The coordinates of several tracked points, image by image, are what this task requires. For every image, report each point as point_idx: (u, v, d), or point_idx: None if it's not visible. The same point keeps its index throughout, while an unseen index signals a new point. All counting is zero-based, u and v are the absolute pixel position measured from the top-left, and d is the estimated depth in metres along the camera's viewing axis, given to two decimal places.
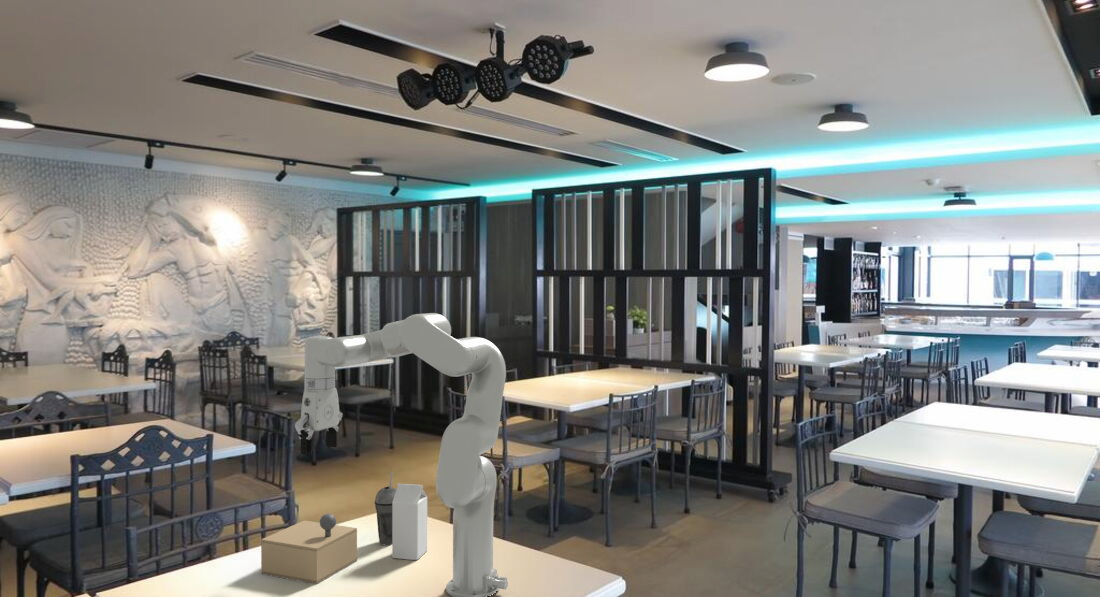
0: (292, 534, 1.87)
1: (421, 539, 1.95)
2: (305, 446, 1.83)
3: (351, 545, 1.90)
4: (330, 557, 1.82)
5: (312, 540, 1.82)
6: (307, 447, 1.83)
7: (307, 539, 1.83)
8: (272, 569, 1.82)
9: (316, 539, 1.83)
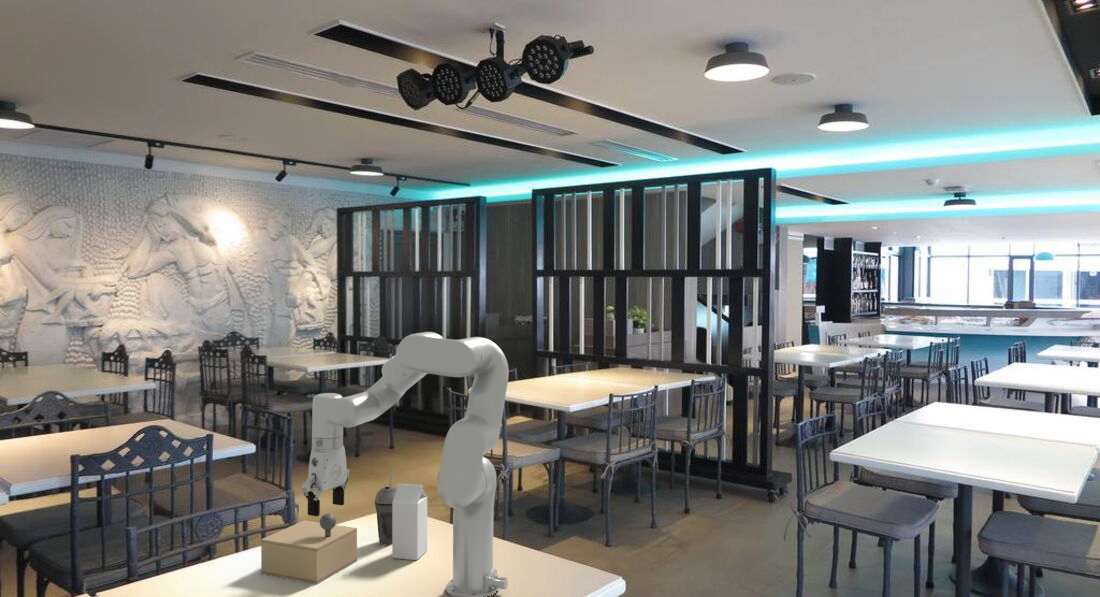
0: (292, 534, 1.87)
1: (421, 539, 1.95)
2: (312, 507, 1.80)
3: (351, 545, 1.90)
4: (330, 557, 1.82)
5: (312, 540, 1.82)
6: (314, 508, 1.80)
7: (307, 539, 1.83)
8: (272, 569, 1.82)
9: (316, 539, 1.83)
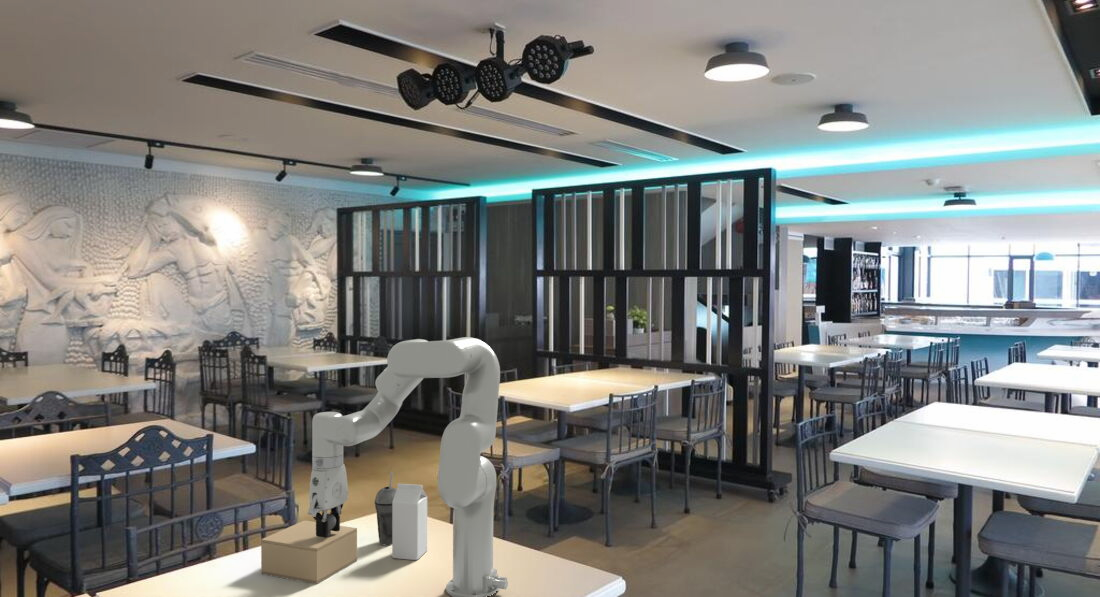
0: (292, 534, 1.87)
1: (421, 539, 1.95)
2: (320, 528, 1.82)
3: (351, 545, 1.90)
4: (330, 557, 1.82)
5: (312, 540, 1.82)
6: (322, 529, 1.82)
7: (307, 539, 1.83)
8: (272, 569, 1.82)
9: (316, 539, 1.83)
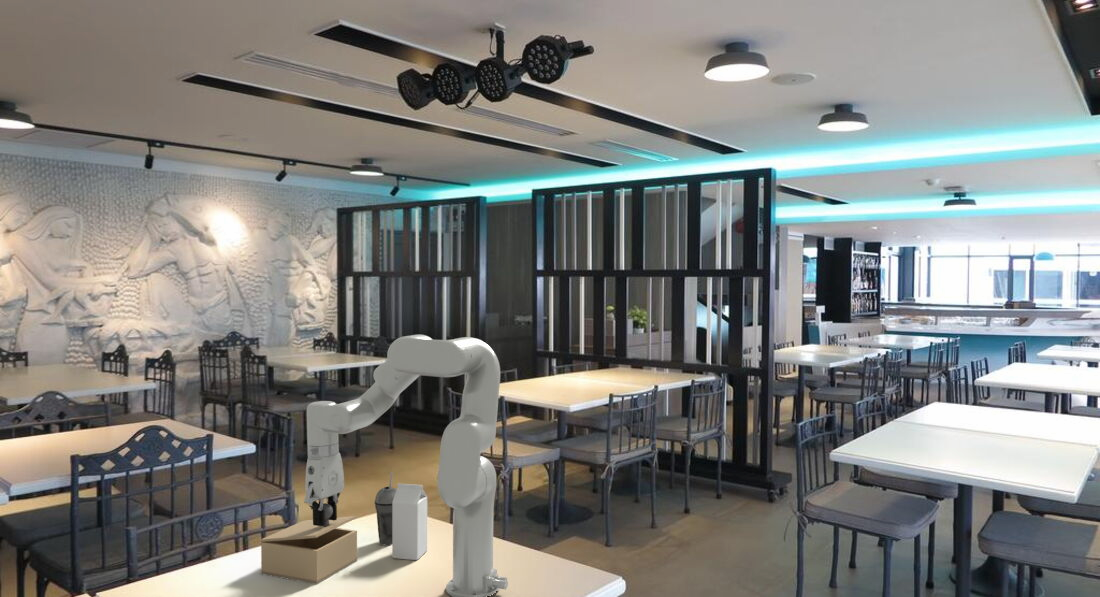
0: (291, 531, 1.87)
1: (421, 539, 1.95)
2: (317, 517, 1.83)
3: (351, 545, 1.90)
4: (330, 557, 1.82)
5: (311, 531, 1.83)
6: (319, 518, 1.83)
7: (306, 531, 1.83)
8: (272, 569, 1.82)
9: (315, 529, 1.83)
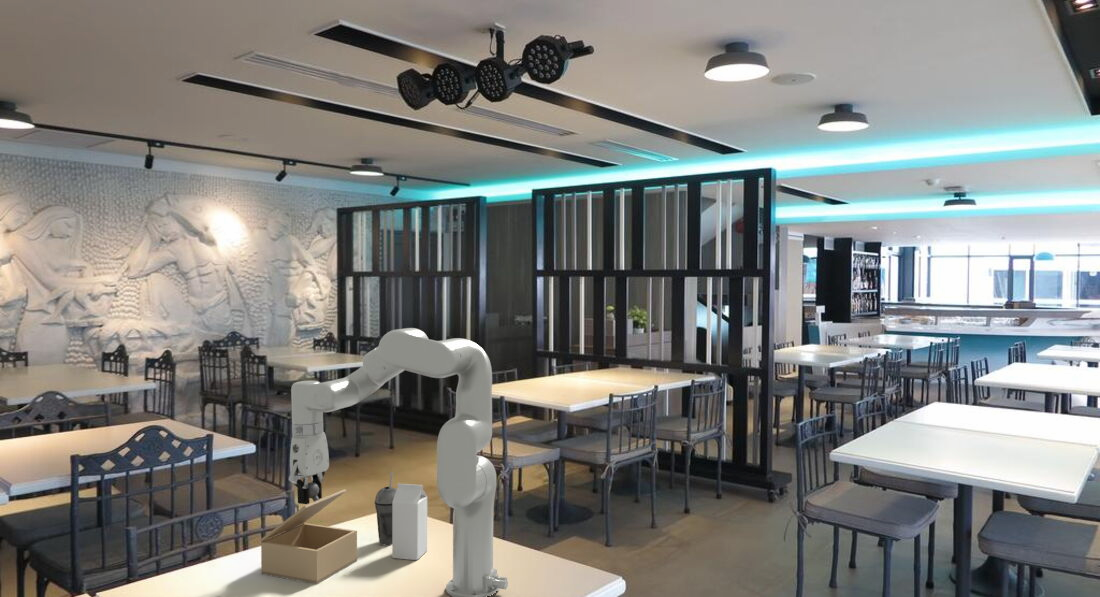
0: None
1: (421, 539, 1.95)
2: (302, 495, 1.84)
3: (351, 545, 1.90)
4: (330, 557, 1.82)
5: None
6: (304, 496, 1.84)
7: None
8: (272, 569, 1.82)
9: None
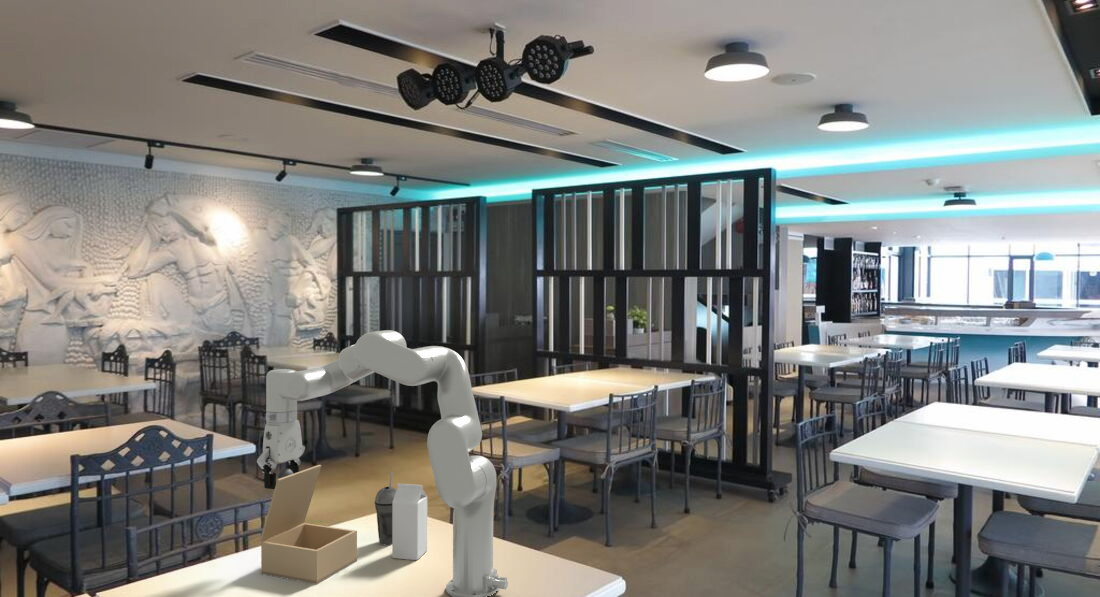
0: None
1: (421, 539, 1.95)
2: (268, 480, 1.85)
3: (351, 545, 1.90)
4: (330, 557, 1.82)
5: None
6: (270, 481, 1.86)
7: None
8: (272, 569, 1.82)
9: None
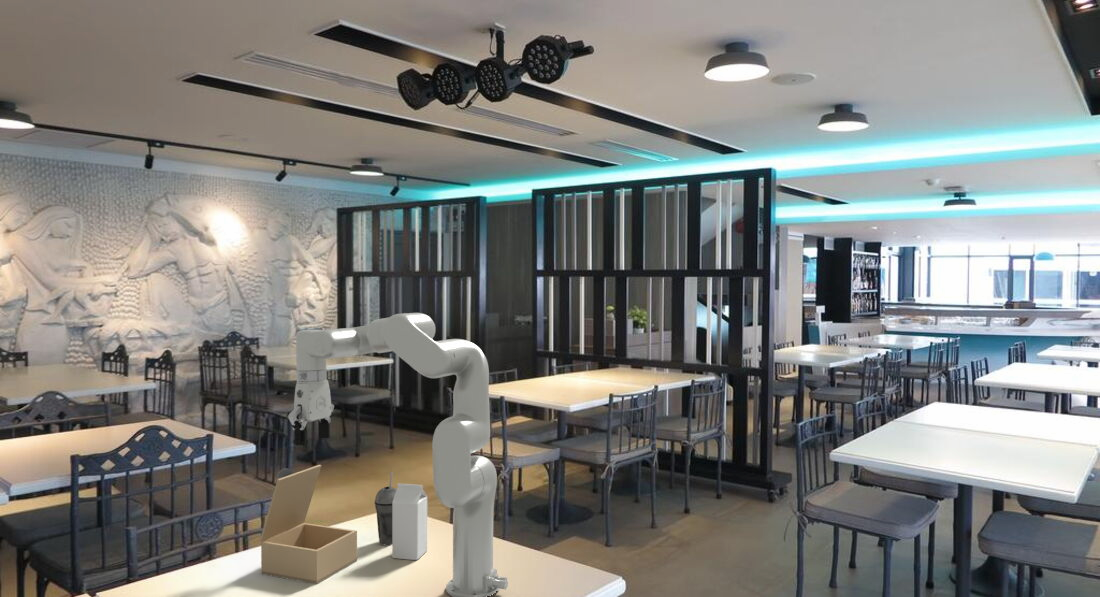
0: None
1: (421, 539, 1.95)
2: (299, 437, 1.87)
3: (351, 545, 1.90)
4: (330, 557, 1.82)
5: None
6: (301, 438, 1.88)
7: None
8: (272, 569, 1.82)
9: None
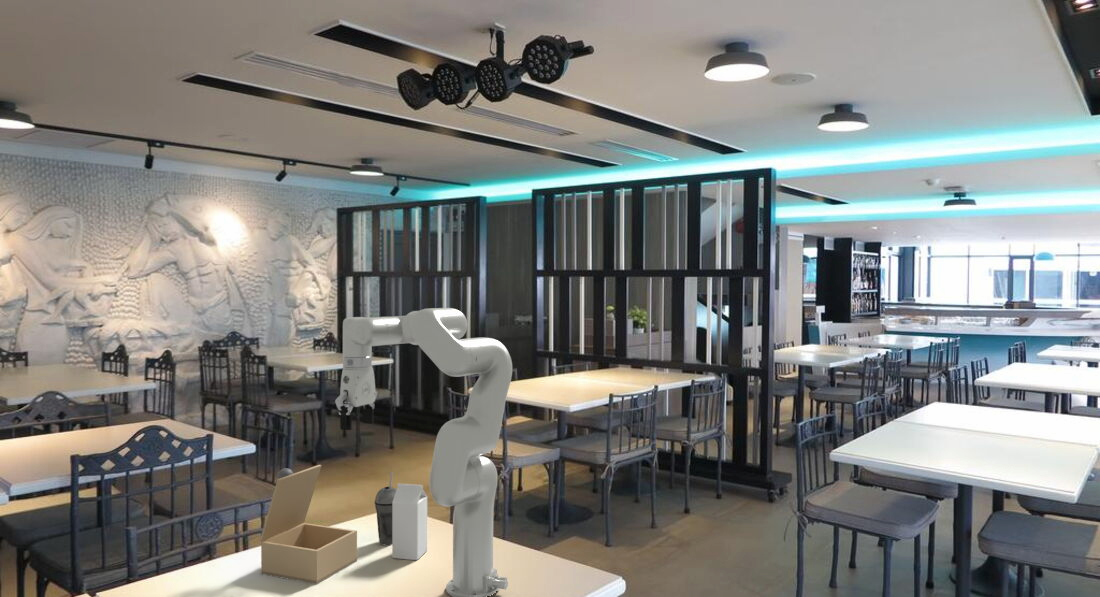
0: None
1: (421, 539, 1.95)
2: (345, 421, 1.92)
3: (351, 545, 1.90)
4: (330, 557, 1.82)
5: None
6: (347, 422, 1.92)
7: None
8: (272, 569, 1.82)
9: None
